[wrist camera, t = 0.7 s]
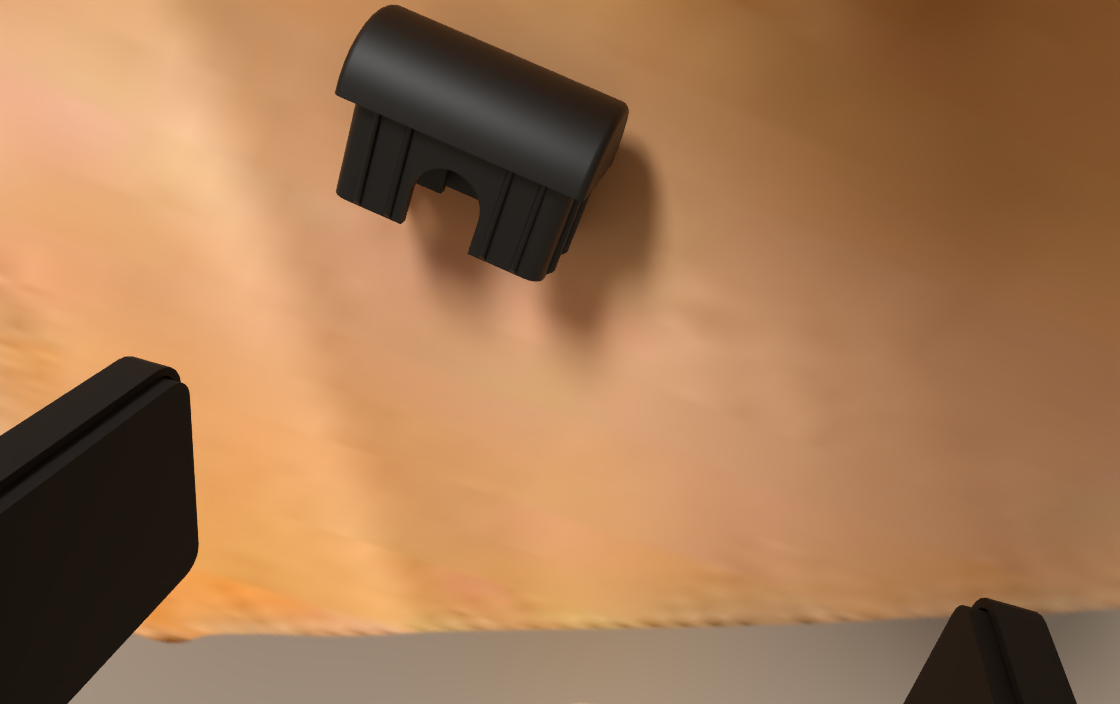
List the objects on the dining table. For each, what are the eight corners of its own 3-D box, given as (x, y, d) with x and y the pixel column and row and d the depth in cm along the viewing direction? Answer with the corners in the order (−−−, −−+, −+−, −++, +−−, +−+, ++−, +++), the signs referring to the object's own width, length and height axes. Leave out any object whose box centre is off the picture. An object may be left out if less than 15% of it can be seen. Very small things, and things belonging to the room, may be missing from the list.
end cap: (643, 90, 34) (614, 122, 28) (583, 239, 38) (546, 296, 32) (422, -5, 35) (349, 8, 29) (383, 152, 38) (310, 192, 32)
